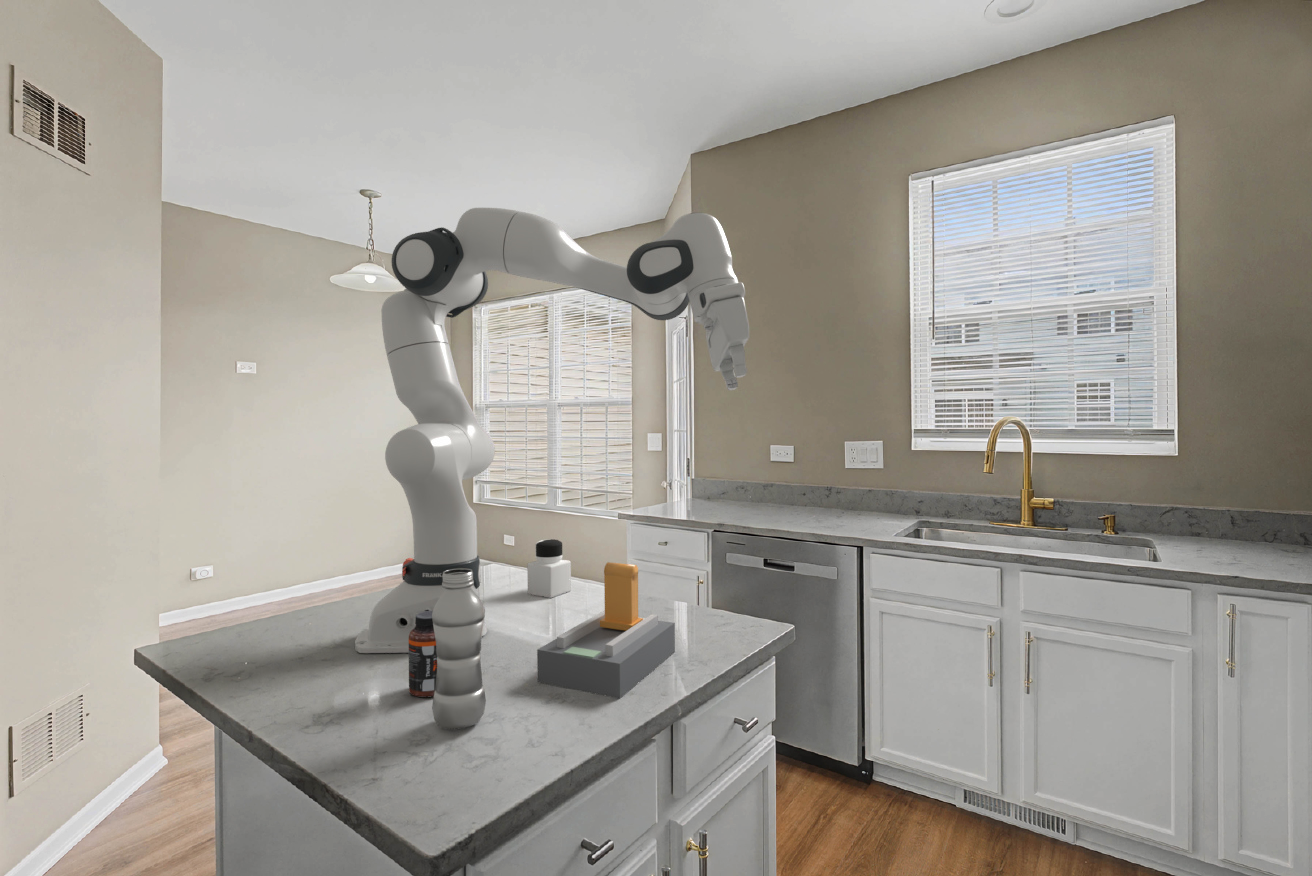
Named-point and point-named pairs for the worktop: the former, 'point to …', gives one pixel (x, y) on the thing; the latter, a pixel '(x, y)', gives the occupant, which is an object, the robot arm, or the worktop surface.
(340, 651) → the worktop surface
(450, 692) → the plastic bottle
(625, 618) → the handle
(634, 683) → the breaker box
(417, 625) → the supplement bottle
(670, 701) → the worktop surface
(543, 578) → the medicine bottle
